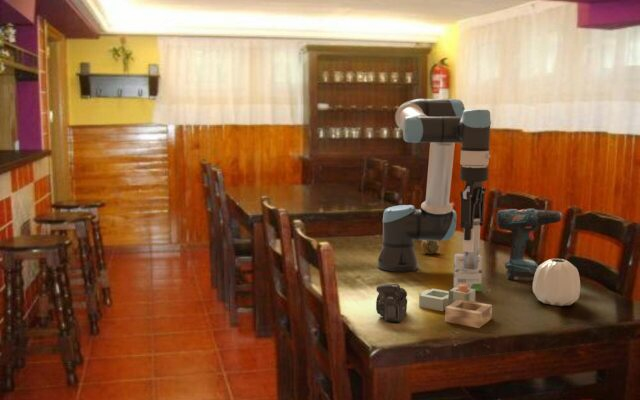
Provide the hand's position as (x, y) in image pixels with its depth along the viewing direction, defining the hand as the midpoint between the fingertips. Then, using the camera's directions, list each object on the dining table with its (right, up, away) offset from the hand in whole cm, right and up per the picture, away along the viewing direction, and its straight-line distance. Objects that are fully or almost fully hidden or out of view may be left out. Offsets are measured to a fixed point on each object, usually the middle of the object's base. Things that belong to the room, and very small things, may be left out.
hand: (471, 249), depth 178 cm
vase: (+31, -18, +20) cm, 41 cm away
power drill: (+32, -14, +50) cm, 61 cm away
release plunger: (0, -16, +12) cm, 20 cm away
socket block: (-4, -18, +15) cm, 24 cm away
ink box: (+7, -16, +34) cm, 38 cm away
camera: (-21, -20, +5) cm, 30 cm away
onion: (+4, -9, +89) cm, 89 cm away
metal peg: (0, -5, +1) cm, 5 cm away
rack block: (0, -20, +3) cm, 20 cm away
